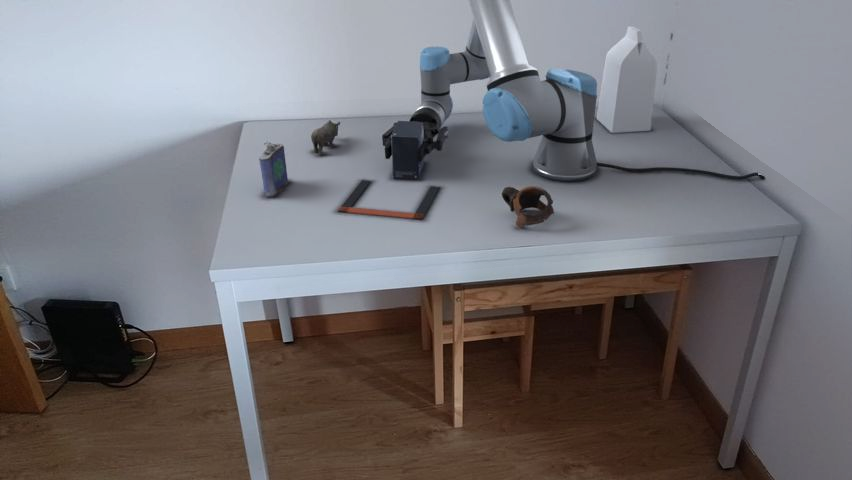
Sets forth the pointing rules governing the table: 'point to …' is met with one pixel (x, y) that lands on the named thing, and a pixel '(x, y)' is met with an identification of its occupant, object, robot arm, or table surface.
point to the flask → (273, 169)
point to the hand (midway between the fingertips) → (403, 154)
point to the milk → (628, 85)
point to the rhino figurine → (324, 136)
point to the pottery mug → (528, 204)
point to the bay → (418, 215)
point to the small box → (407, 149)
